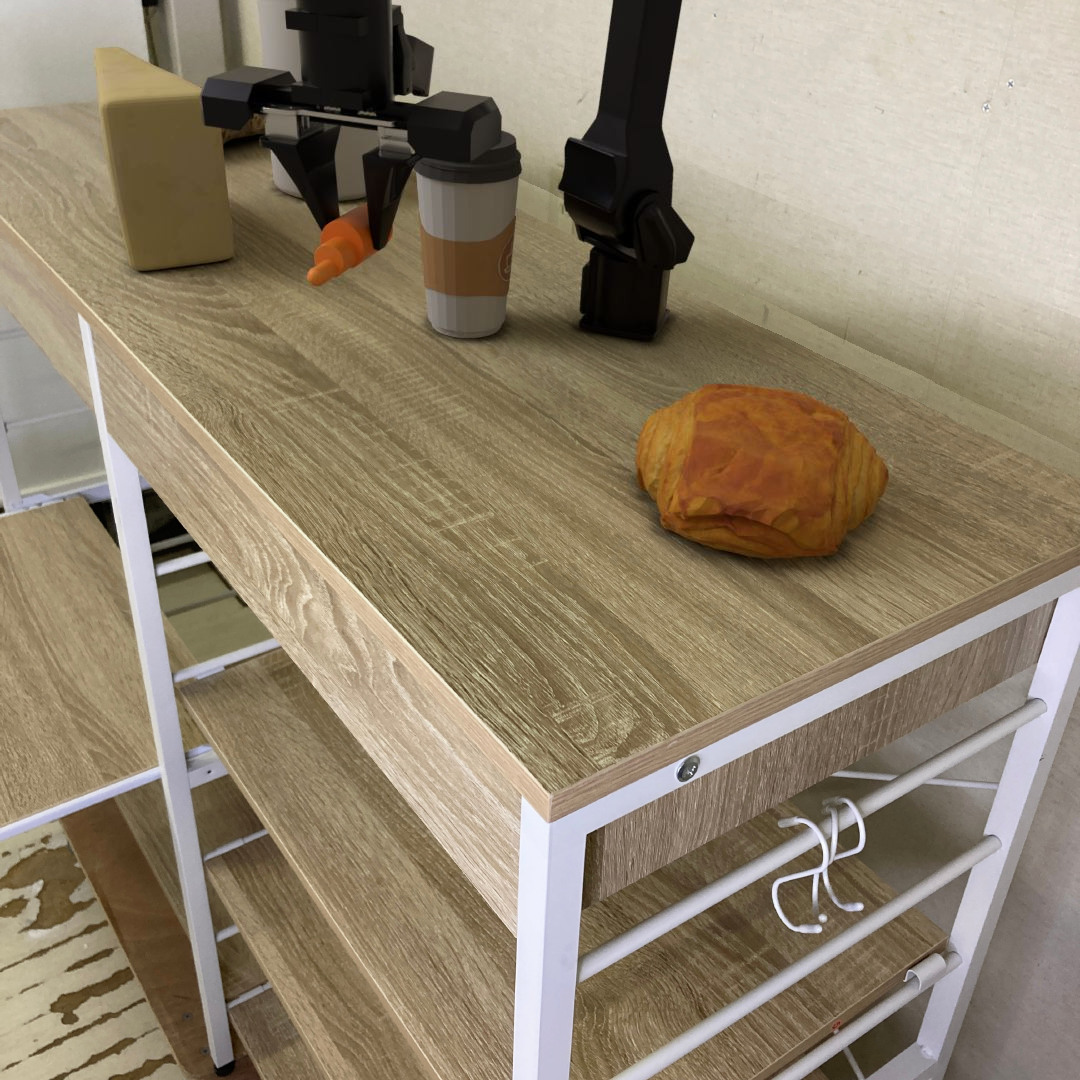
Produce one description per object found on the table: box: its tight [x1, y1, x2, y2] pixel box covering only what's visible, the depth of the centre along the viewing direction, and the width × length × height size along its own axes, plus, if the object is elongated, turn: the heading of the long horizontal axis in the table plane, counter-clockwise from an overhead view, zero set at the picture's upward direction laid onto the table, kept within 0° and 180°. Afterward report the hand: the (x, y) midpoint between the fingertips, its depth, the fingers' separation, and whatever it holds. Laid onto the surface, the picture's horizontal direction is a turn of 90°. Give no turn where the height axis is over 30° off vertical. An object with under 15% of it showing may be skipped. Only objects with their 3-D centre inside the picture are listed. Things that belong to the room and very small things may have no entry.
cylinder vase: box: [256, 0, 379, 202], centre depth 114 cm, size 12×12×25 cm
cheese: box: [93, 46, 235, 272], centre depth 102 cm, size 22×10×15 cm, turn 29°
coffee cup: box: [413, 129, 523, 339], centre depth 87 cm, size 8×8×15 cm
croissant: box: [634, 383, 890, 560], centre depth 67 cm, size 14×16×8 cm
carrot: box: [306, 203, 394, 287], centre depth 73 cm, size 10×3×3 cm, turn 160°
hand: (356, 244), depth 74 cm, fingers closed on carrot, 3 cm apart
